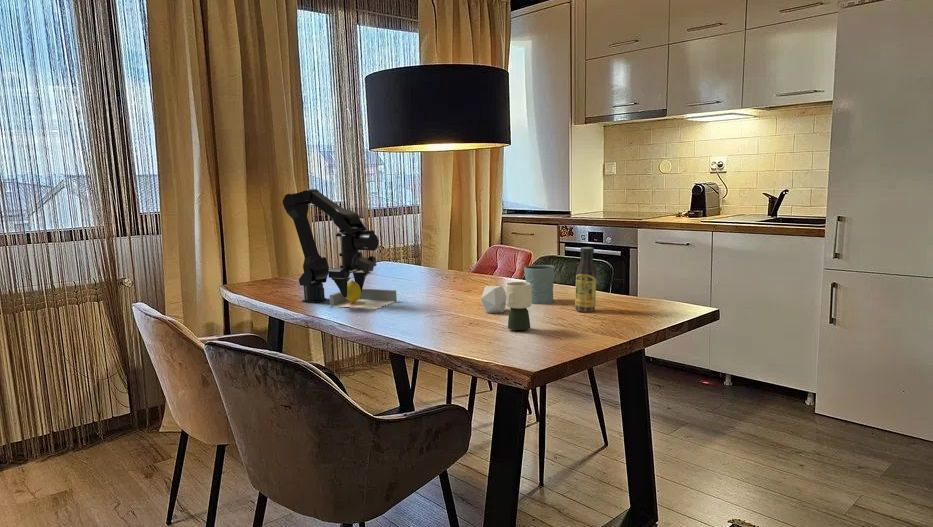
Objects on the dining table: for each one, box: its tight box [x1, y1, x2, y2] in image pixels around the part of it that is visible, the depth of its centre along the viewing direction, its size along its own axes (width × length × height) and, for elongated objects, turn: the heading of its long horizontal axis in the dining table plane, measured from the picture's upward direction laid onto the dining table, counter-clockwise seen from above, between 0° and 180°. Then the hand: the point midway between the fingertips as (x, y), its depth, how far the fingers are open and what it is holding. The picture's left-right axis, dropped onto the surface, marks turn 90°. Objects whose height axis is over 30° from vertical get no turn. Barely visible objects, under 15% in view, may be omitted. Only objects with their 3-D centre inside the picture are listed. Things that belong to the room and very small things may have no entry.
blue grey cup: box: [523, 264, 555, 305], centre depth 209 cm, size 10×10×12 cm
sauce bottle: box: [574, 246, 597, 313], centre depth 192 cm, size 6×6×20 cm
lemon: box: [346, 280, 361, 303], centre depth 213 cm, size 6×6×8 cm
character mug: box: [504, 281, 533, 332], centre depth 171 cm, size 11×7×13 cm, turn 147°
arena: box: [329, 288, 398, 310], centre depth 214 cm, size 18×14×4 cm
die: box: [480, 285, 507, 314], centre depth 195 cm, size 8×9×10 cm
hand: (352, 294), depth 213 cm, fingers open, 9 cm apart
